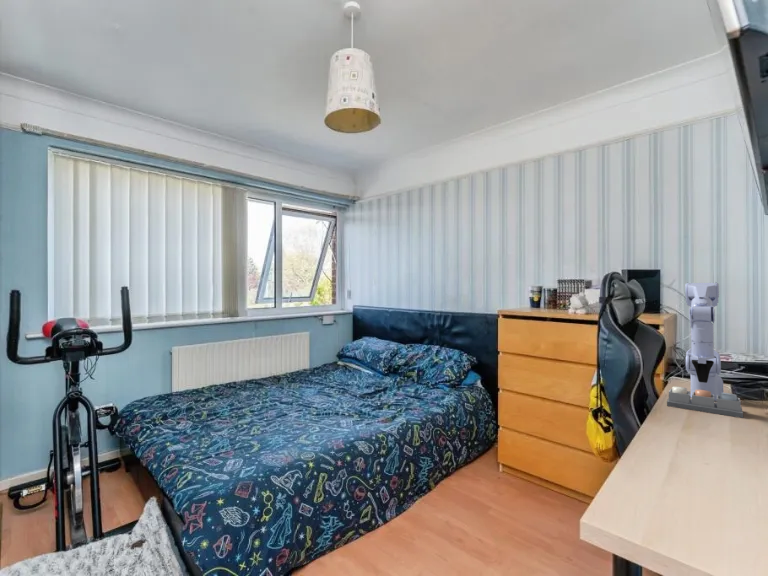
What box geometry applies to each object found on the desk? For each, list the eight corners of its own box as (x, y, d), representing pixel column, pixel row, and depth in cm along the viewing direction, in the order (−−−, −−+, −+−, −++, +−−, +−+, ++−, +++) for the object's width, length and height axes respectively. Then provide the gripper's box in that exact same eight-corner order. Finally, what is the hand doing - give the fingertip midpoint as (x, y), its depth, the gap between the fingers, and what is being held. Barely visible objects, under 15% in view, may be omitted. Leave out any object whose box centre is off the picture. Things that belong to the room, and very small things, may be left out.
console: (667, 405, 127) (666, 392, 127) (669, 400, 134) (669, 387, 134) (743, 418, 114) (742, 403, 114) (741, 411, 121) (741, 397, 121)
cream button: (671, 396, 128) (671, 388, 128) (672, 394, 131) (672, 385, 131) (686, 398, 125) (686, 390, 125) (687, 396, 128) (687, 387, 128)
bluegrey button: (720, 403, 120) (719, 394, 120) (720, 401, 123) (719, 392, 123) (737, 406, 117) (736, 396, 117) (736, 403, 120) (736, 394, 120)
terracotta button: (695, 400, 124) (695, 391, 124) (695, 397, 127) (695, 388, 127) (711, 402, 121) (710, 393, 121) (711, 399, 124) (711, 390, 124)
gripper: (688, 338, 132) (688, 376, 132) (685, 342, 122) (686, 384, 121) (714, 340, 128) (715, 379, 127) (714, 344, 117) (715, 387, 117)
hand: (702, 382), depth 124 cm, fingers closed
